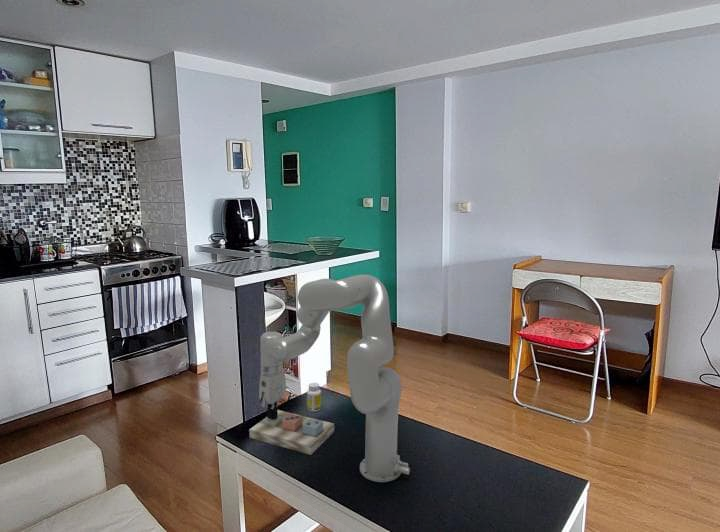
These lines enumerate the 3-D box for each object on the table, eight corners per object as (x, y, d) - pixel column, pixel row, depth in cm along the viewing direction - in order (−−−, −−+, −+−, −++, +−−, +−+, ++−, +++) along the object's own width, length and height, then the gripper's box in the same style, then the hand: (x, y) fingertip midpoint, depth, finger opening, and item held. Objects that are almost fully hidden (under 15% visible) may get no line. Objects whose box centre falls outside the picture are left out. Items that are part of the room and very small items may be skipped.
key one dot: (283, 424, 162) (283, 416, 162) (274, 431, 158) (274, 422, 157) (271, 421, 164) (271, 413, 164) (262, 428, 160) (262, 419, 159)
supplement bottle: (322, 405, 179) (322, 382, 178) (319, 412, 174) (319, 388, 173) (308, 405, 180) (308, 381, 178) (305, 411, 175) (305, 387, 173)
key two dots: (322, 429, 155) (322, 421, 155) (315, 436, 151) (315, 427, 150) (310, 426, 157) (310, 417, 157) (302, 433, 153) (302, 424, 152)
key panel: (334, 431, 160) (334, 423, 160) (311, 454, 146) (311, 446, 145) (276, 417, 170) (276, 409, 169) (249, 437, 155) (249, 429, 155)
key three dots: (302, 424, 159) (302, 416, 158) (294, 431, 154) (294, 422, 154) (290, 421, 161) (290, 413, 160) (282, 428, 156) (282, 419, 156)
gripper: (268, 377, 149) (268, 430, 152) (293, 362, 163) (293, 411, 166) (249, 373, 152) (250, 425, 155) (275, 359, 166) (275, 406, 169)
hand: (272, 417), depth 160 cm, fingers closed
